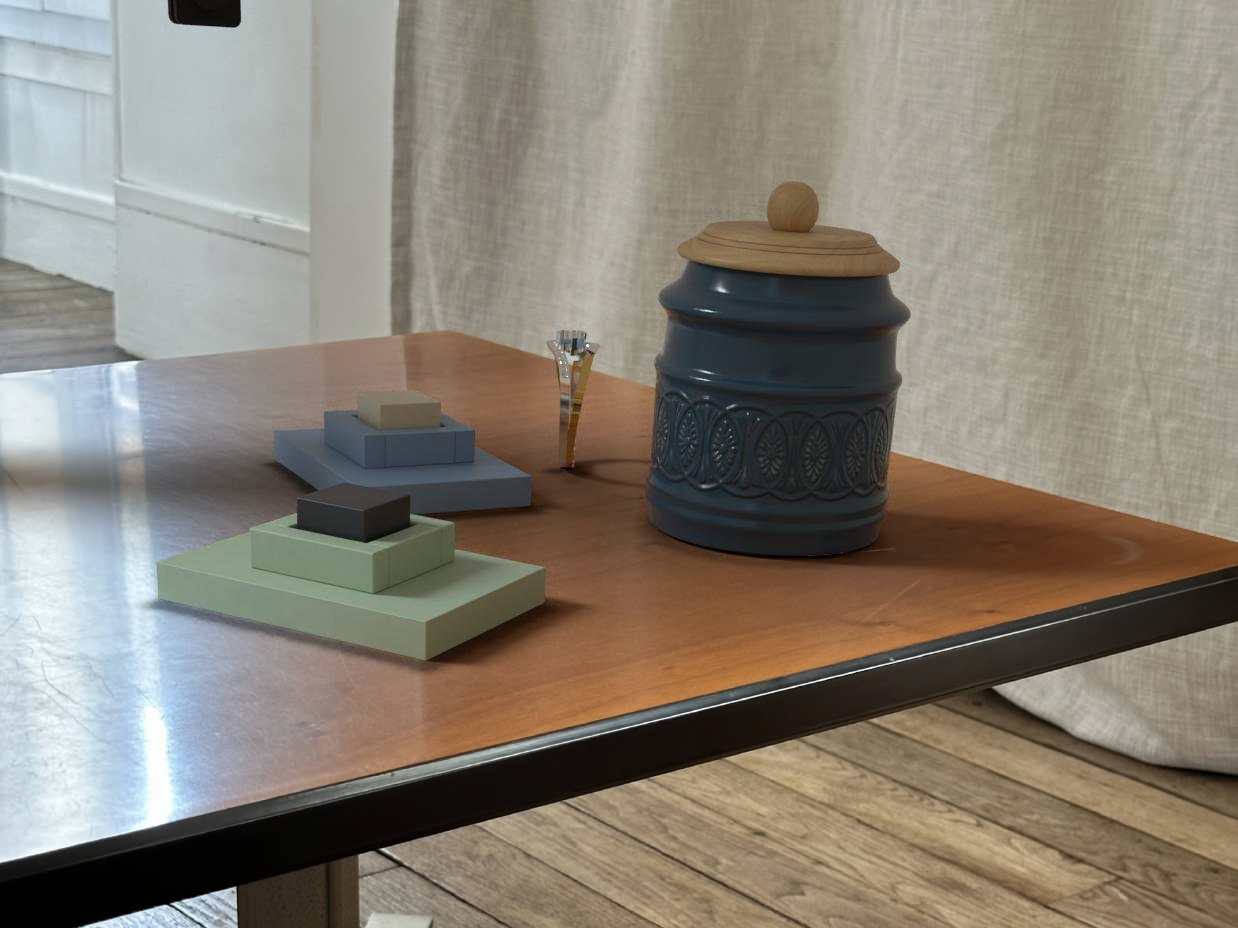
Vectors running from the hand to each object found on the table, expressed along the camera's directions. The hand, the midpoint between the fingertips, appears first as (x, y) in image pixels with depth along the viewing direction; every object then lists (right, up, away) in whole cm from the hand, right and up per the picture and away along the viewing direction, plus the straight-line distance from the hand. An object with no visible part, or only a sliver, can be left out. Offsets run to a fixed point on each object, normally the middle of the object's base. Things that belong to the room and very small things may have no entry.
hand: (205, 24), depth 87 cm
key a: (+9, -27, -9) cm, 30 cm away
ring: (+17, -18, +19) cm, 31 cm away
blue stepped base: (+8, -20, +13) cm, 25 cm away
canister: (+28, -24, +8) cm, 38 cm away
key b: (+8, -17, +11) cm, 22 cm away
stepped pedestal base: (+9, -30, -8) cm, 32 cm away
